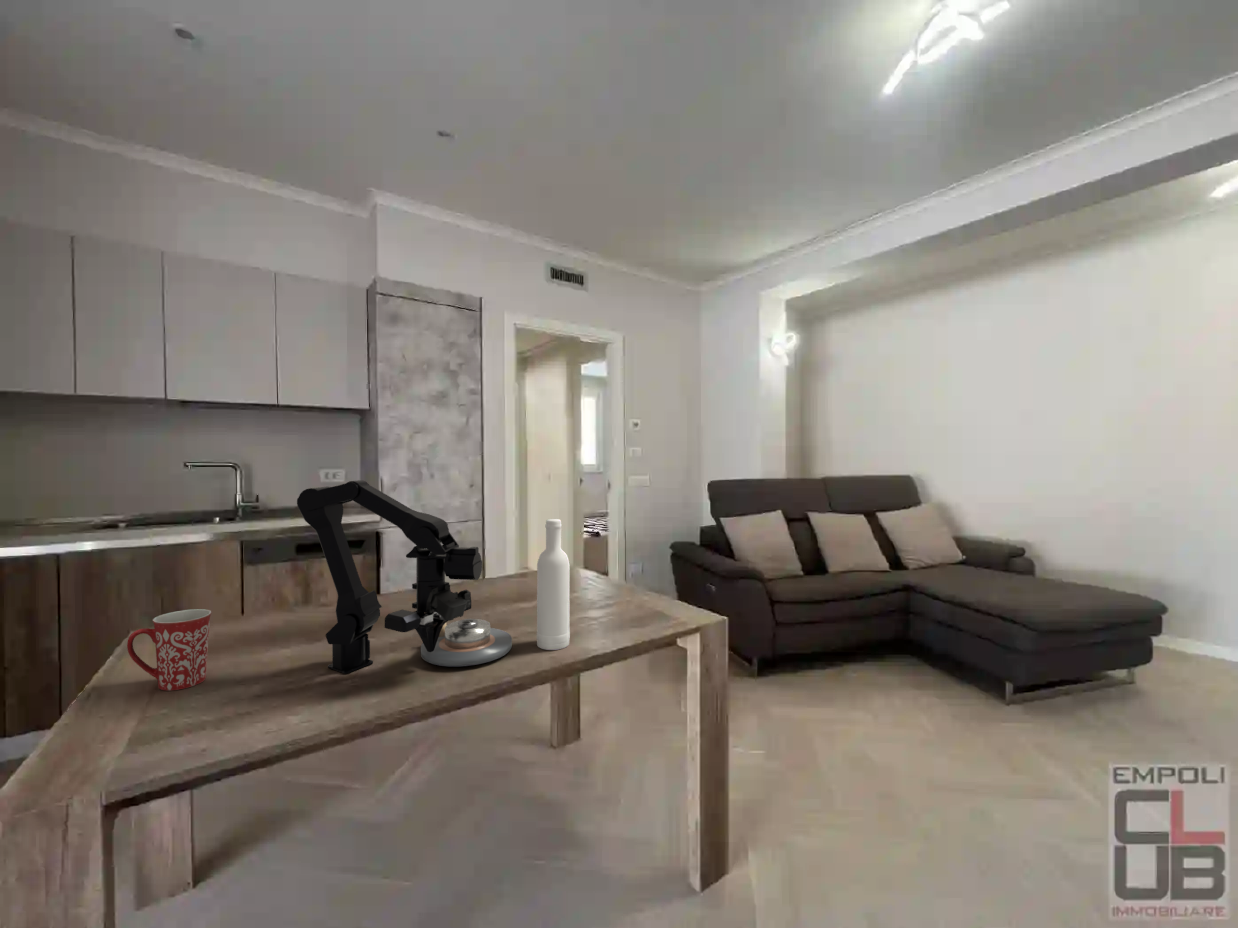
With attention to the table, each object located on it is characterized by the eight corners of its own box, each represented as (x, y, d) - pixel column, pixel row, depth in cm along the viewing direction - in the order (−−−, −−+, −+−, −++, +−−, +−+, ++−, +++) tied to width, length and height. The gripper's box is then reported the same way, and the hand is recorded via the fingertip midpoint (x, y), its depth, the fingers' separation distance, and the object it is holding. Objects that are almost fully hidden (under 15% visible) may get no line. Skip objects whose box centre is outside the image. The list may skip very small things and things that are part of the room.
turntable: (466, 673, 106) (466, 648, 106) (401, 654, 116) (401, 631, 116) (529, 642, 124) (529, 621, 124) (467, 628, 134) (467, 608, 134)
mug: (214, 669, 110) (213, 605, 110) (209, 685, 102) (208, 617, 102) (134, 683, 103) (133, 615, 103) (122, 702, 96) (120, 629, 95)
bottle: (566, 636, 130) (566, 517, 130) (573, 648, 123) (573, 521, 122) (534, 640, 128) (534, 518, 127) (539, 652, 120) (539, 522, 120)
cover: (467, 652, 113) (467, 631, 113) (435, 643, 118) (435, 623, 118) (499, 638, 122) (499, 618, 122) (468, 630, 127) (468, 612, 127)
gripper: (422, 594, 99) (422, 675, 99) (490, 574, 115) (489, 644, 115) (382, 586, 104) (382, 664, 104) (453, 568, 120) (452, 635, 121)
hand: (430, 651), depth 111 cm, fingers closed
